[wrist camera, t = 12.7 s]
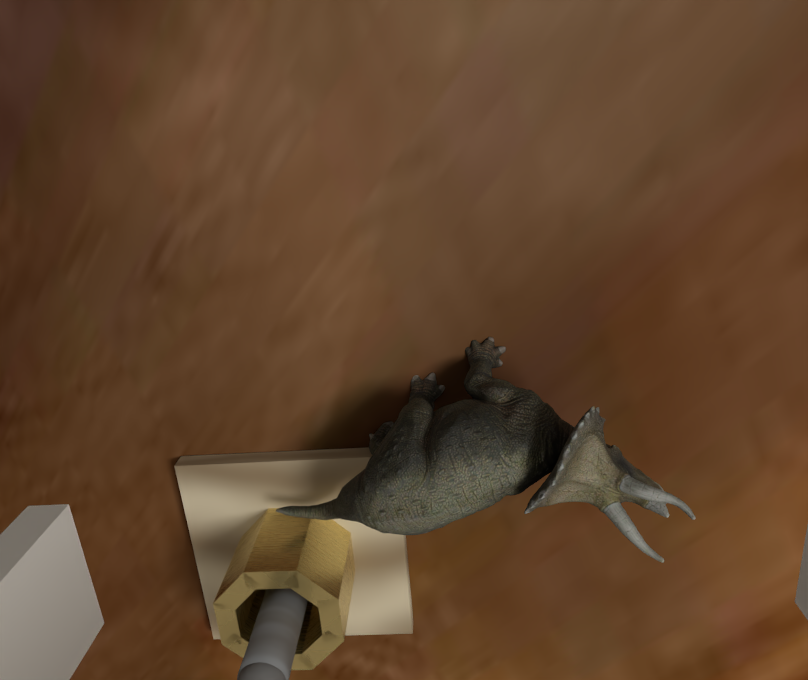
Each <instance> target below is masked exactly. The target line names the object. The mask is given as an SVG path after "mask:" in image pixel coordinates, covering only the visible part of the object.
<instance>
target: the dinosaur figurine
mask: <svg viewBox="0 0 808 680" xmlns="http://www.w3.org/2000/svg"><path fill="white" fill-rule="evenodd" d="M505 350H506V348H505V347H504V346H499V347H495V346H494V339H493V337H488V338H487V339H486V340H484V342H483V343H481V344H480V343H479V342H478V341H476V340H472V342H471V347H467V348H466V349H465V352H466V354H467V357H468V361H469V365H470V370H469V371H468V373H467V375H466V378H465V380H464V387H465V389H466V391H467V392H468V394H469V395H470V396H472V398H473V399H468V400H467V399H464V400H462V401H458V402H455V403H452V404H450V405H446V406H443V407H441V408H439V409H438V410H436V411H433V409H434V407H435V404H434V401H435V399H437V398H438V397H439V396H440V395H441V394H442V393H443V391H444V390H445V386H444V385H437V381H436V375H435V374H434V373H430V374H429V375H428V376H427V377H426V378H425V379H424V380H422V379H420V377H419V376H418V375H415V376H414V377H413V378H412V380H411V393H410V398H409V401H408V404H407V405H405V406H404V407H403V408H402V410H401V412H400V413H399V416H398V419H397V420H396V421H395V423H394V422H391V421H389V422H386V423H383V424H382V425H381V426H380V428H379V429H378V430H377V431H376V432H375V433H374V434H372V433H370V434H369V436H370V442H369V450H370V453H371V454H372V456H371V458H370V459H369V461H368V463H367V466H366V468H365V469H364V470H363V471H361V472H360V473H359V474H357V475H356V476H355V477H354V478H353V479H351V480H350V481H349V482H348V483H347V484H346V485H344V486H343V487H342V489H341V491H340V493H339V495H338V497H337V498H336V499H333V500H332V501H328V502H325V503H322V504H319V505H311V506H286V507H282V508H278V509H276V512H279V513H282V514H284V515H288V516H294V517H300V518H309V519H319V520H331V519H343V520H349V521H356V522H359V523H362V524H364V525H366V526H367V527H370V528H372V529H375V530H377V531H379V532H382V533H391V534H399V535H418V534H423V533H427V532H430V531H432V530H435V529H437V528H441V527H444V526H445V525H447V524H449V523H450V522H453V521H455V520H458V519H461V518H464V517H466V516H469V515H471V514H474V513H475V512H477V511H481V510H483V509H485V508H488V507H490V506H492V505H494V504H495V503H496V502H498V501H500V500H501V499H502V498H503V497H504V496H506V495H516V494H519V493H521V492H523V491H524V490H525V489H527V488H528V487H529V486H531V485H532V484H534V483H535V482H537V481H538V480H540V479H541V478H542V477H544V476H545V475H547V474H549V473H550V475H549V476H548V478H547V479H546V481H545V482H544V483H543V484H542V486H541V487H540V488H539V489H538V491H537V492H536V493H535V494H534V495H533V497H532V498H531V499H530V501H529V503H528V506H527V508H526V510H525V512H524V513H525V514H526V513H529V512H531V511H533V510H534V509H536V508H537V507H542V506H549V505H554V504H557V503H563V502H587V503H590V504H592V505H594V506H596V507H598V508H599V510H600V511H601V512H603V513H605V514H606V515H607V516H608V518H609V519H610V520H611V521H612V522H613V523H614V524H615V526H616V527H617V528H618V529H619V530H620V531H621V532H622V533H623V535H625V536H626V537H627V538H628V539H629V540H630V541H631V542H632V543H633V544H634V545H635V546H637V547H638V548H639V549H640V550H641V551H643V552H644V553H646V554H647V555H649V556H651V557H652V558H654V559H656V560H658V561H660V562H664V559H663V558H662V557H661V556H659V555H658V554H657V553H656V552H655V551H654V550H652V549H651V548H650V547H649V546H648V545H647V544H646V542H645V541H644V539H643V538H642V536H641V535H640V533H639V532H638V530H637V529H636V527H635V525H634V524H633V522H632V521H631V519H630V518H629V516H628V515H627V513H626V511H625V510H624V509H623V507H622V506H621V503H622V502H625V501H627V502H633V503H636V504H638V505H640V506H642V507H643V508H645V509H649V510H652V511H653V512H655V513H657V514H660V515H662V516H664V517H669V513H668V510H667V507H666V505H665V504H666V503H670V504H673V505H675V506H677V507H679V508H680V509H682V510H683V511H684V512H685V513H686V514H687V515H688V516H689V517H690V518H691V519H692V520H693V519H695V516H694V514H693V512H692V511H691V509H690V508H689V507H688V506H687V505H686V504H685V503H684V502H683V501H682V500H680V499H679V498H677V497H675V496H673V495H672V494H670V493H667V492H665V491H663V489H662V487H661V486H660V485H659V484H657V483H656V482H654V481H653V480H652V479H650V478H649V477H648V476H646V475H645V474H644V473H643V472H642V471H640V470H639V469H637V468H635V467H634V466H633V465H632V464H631V463H629V462H628V461H627V460H626V459H625V458H624V457H623V456H622V453H621V451H620V449H619V448H618V447H616V446H615V445H612V446H610V445H607V444H606V443H605V440H604V433H603V425H604V422H605V419H604V418H602V417H601V416H599V407H597V408H596V409H595V406H594V407H591V408H590V409H589V410H588V411H587V412H586V413H585V415H584V416H583V417H582V418H581V419H580V421H579V422H578V424H577V425H576V426H575V427H573V426H572V425H570V424H569V423H567V422H565V421H564V420H562V419H561V418H560V417H559V416H558V415H557V414H556V413H555V411H554V410H553V408H552V407H551V406H549V405H548V404H547V403H544V402H543V401H542V400H541V399H540V397H539V396H538V395H537V394H536V393H534V392H533V391H532V390H526V389H523V388H517V387H515V386H513V385H512V384H511V383H509V382H508V381H505V380H501V379H495V378H492V372H491V368H496V367H500V366H502V364H503V363H502V361H501V360H500V359H499V356H500V355H501V354H502V353H504V352H505Z"/></svg>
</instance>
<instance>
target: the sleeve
mask: <svg viewBox="0 0 808 680" xmlns="http://www.w3.org/2000/svg"><path fill="white" fill-rule="evenodd" d="M276 509H278V508H268V509H267V511H266V512H265V513H264V514H263V515H262V516H261V517H260V518H259V519H258V520H257V521H256V522H255V523H254V524H253V525H252V526H251V527H250V528H249V530H248V531H247V532H246V533H245V534H244V535H243V536H242V537H241V539H240V541H239V544H238V546H237V548H236V551H235V553H234V555H233V558H232V560H231V562H230V565H229V567H228V569H227V572H226V574H225V576H224V579H223V581H222V583H221V586H220V588H219V590H218V593H217V595H216V597H215V600H214V602H213V606H214V611H215V615H216V620H217V624H218V629H219V633H220V638H221V643H222V645H224V646H225V647H227V648H228V649H230V650H231V651H233V652H235V653H236V654H238V655H239V656H241V657H242V658H244V655H245V652H246V649H247V646H248V643H249V640H250V637H251V634H252V631H253V628H254V625H255V622H256V619H257V616H258V613H259V610H260V607H261V604H262V601H263V598H264V595H265V592H266V589H285V588H291V589H292V590H294V591H295V592H297V593H298V594H299V595H301V596H302V597H304V598H305V599H307V600H308V602H307V606H306V611H305V615H304V619H303V623H302V627H301V631H300V635H299V639H298V643H297V648H296V652H295V656H294V660H293V664H292V668H291V670H313V669H314V668H315V667H316V666H317V665H318V664H319V663H320V662H321V661H322V660H324V659H325V658H326V657H327V656H328V655H329V654H330V653H331V652H332V651H334V650H335V649H336V648H337V647H338V646H339V645H340V644H341V643H342V642H343V641H344V639H345V632H346V626H347V620H348V614H349V607H350V601H351V595H352V589H353V582H354V576H355V563H354V555H353V547H352V539H351V533H350V532H349V531H348V530H346V529H345V528H343V527H342V526H341V525H339V524H338V523H337V522H335V521H334V520H332V519H331V520H319V519H309V518H300V517H294V516H288V515H284V514H282V513H279V512H276Z"/></svg>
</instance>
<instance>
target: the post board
mask: <svg viewBox="0 0 808 680" xmlns="http://www.w3.org/2000/svg"><path fill="white" fill-rule="evenodd" d="M371 456H372V454H371V453H370V450H369V447H367V448H345V449H324V450H303V451H282V452H260V453H239V454H218V455H196V456H181V457H180V459H179V460H178V461H177V463H176V464H175V466H174V467H175V471H176V476H177V480H178V485H179V489H180V493H181V498H182V502H183V506H184V511H185V515H186V520H187V524H188V528H189V533H190V537H191V542H192V546H193V550H194V555H195V559H196V563H197V568H198V572H199V577H200V581H201V585H202V590H203V594H204V599H205V603H206V607H207V612H208V616H209V621H210V625H211V629H212V634H213V638H214V639H221V638H220V633H219V629H218V624H217V620H216V615H215V611H214V606H213V602H214V600H215V597H216V595H217V593H218V590H219V588H220V586H221V583H222V581H223V579H224V576H225V574H226V572H227V569H228V567H229V565H230V562H231V560H232V558H233V555H234V553H235V551H236V548H237V546H238V544H239V541H240V539H241V537H242V536H243V535H244V534H245V533H246V532H247V531H248V530H249V528H250V527H251V526H252V525H253V524H254V523H255V522H256V521H257V520H258V519H259V518H260V517H261V516H262V515H263V514H264V513H265V512H266V511H267V509H268V508H282V507H286V506H311V505H319V504H322V503H325V502H328V501H332V500H333V499H336V498H337V497H338V495H339V493H340V491H341V489H342V487H343V486H344V485H346V484H347V483H348V482H349V481H350V480H351V479H353V478H354V477H355V476H356V475H357V474H359V473H360V472H361V471H363V470H364V469H365V468H366V466H367V463H368V461H369V459H370V458H371ZM332 520H334V521H335V522H337V523H338V524H339V525H341V526H342V527H343V528H345V529H346V530H348V531H349V532H350V533H351V539H352V547H353V555H354V563H355V576H354V582H353V589H352V595H351V601H350V607H349V614H348V620H347V626H346V632H345V635H375V634H410V633H413V613H412V601H411V590H410V579H409V568H408V557H407V546H406V535H399V534H391V533H382V532H379V531H377V530H375V529H372V528H370V527H367V526H366V525H364V524H362V523H359V522H356V521H349V520H343V519H332ZM307 602H308V600H307V599H305V598H304V597H302V596H301V595H299V594H298V593H297V592H295V591H294V590H292V589H291V588H285V589H266V592H265V595H264V598H263V601H262V604H261V607H260V610H259V613H258V616H257V619H256V622H255V625H254V628H253V631H252V634H251V637H250V640H249V643H248V646H247V649H246V652H245V655H244V658H243V661H242V664H241V667H240V670H239V673H238V677H237V680H289V676H290V672H291V668H292V664H293V660H294V656H295V652H296V648H297V643H298V639H299V635H300V631H301V627H302V623H303V619H304V615H305V611H306V606H307Z"/></svg>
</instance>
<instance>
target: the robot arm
mask: <svg viewBox="0 0 808 680" xmlns="http://www.w3.org/2000/svg"><path fill="white" fill-rule="evenodd" d="M795 603H796V604H797V606H798V607H799V608H800V610H801V611H802V613H803V614H804V615H805V617H806V618H807V620H808V526H807V532H806V538H805V544H804V550H803V556H802V562H801V568H800V574H799V580H798V586H797V592H796V598H795ZM103 624H104V621H103V617H102V614H101V611H100V607H99V604H98V601H97V597H96V594H95V591H94V587H93V584H92V581H91V577H90V574H89V571H88V567H87V564H86V561H85V557H84V554H83V550H82V547H81V544H80V540H79V537H78V534H77V530H76V527H75V524H74V520H73V517H72V514H71V510H70V507H69V504H64V505H41V506H28V507H27V508H26V509H25V510H24V511H23V512H22V513H21V514H20V515H19V516H18V517H17V518H16V519H15V520H14V521H13V522H12V523H11V524H10V525H9V526H8V527H7V528H6V529H5V530H4V531H3V532H2V534H1V535H0V680H69V679H70V678H71V676H72V675H73V673H74V671H75V670H76V668H77V667H78V665H79V663H80V662H81V660H82V658H83V657H84V655H85V654H86V652H87V650H88V649H89V647H90V645H91V644H92V642H93V641H94V639H95V637H96V636H97V634H98V632H99V631H100V629H101V628H102V626H103Z"/></svg>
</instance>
